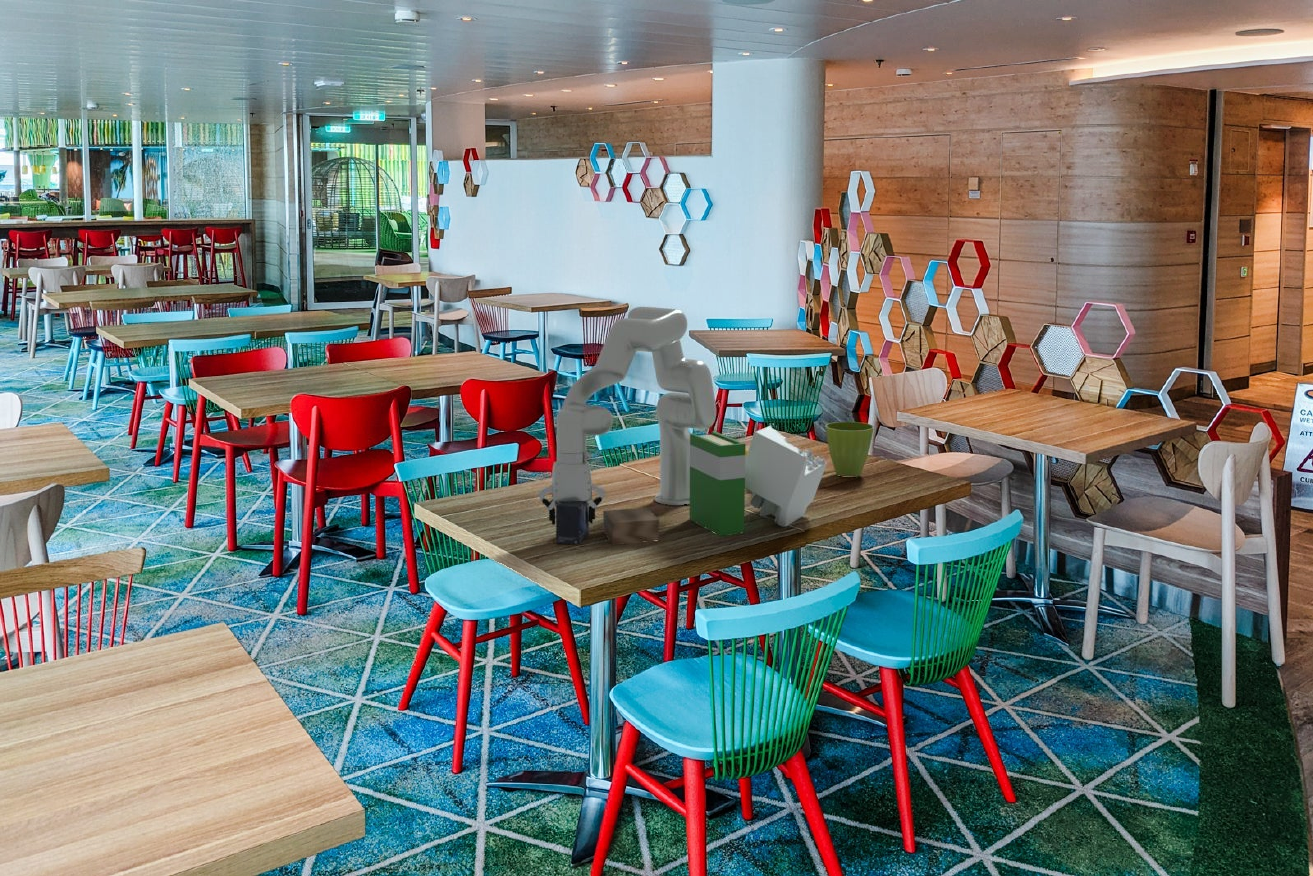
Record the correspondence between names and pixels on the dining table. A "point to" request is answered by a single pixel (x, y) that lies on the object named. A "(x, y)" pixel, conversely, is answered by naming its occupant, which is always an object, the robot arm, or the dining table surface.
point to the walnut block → (630, 525)
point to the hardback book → (717, 483)
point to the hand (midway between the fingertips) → (572, 522)
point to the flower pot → (849, 446)
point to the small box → (572, 522)
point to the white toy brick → (781, 476)
